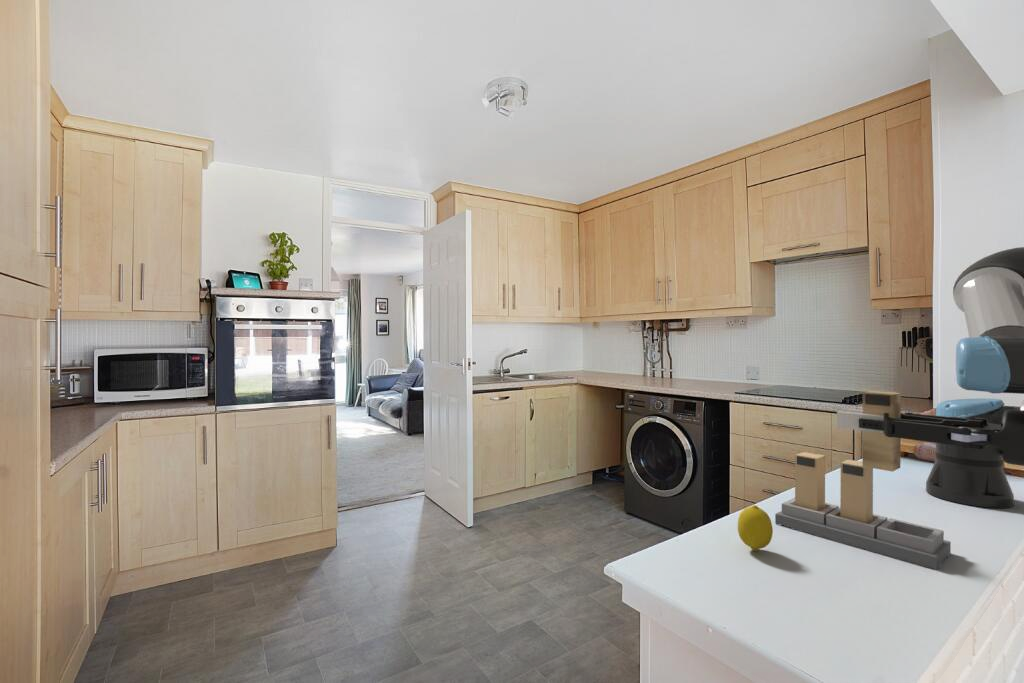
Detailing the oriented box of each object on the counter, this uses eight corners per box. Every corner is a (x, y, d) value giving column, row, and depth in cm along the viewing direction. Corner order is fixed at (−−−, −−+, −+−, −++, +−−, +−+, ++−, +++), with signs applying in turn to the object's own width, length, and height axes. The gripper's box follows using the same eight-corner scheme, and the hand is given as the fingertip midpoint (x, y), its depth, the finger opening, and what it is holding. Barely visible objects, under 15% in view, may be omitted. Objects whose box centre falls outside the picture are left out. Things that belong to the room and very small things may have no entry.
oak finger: (870, 462, 82) (870, 391, 82) (900, 467, 79) (900, 393, 79) (862, 466, 79) (862, 392, 79) (892, 471, 76) (892, 394, 76)
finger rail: (796, 512, 105) (796, 447, 105) (950, 553, 85) (950, 472, 85) (775, 523, 99) (775, 454, 99) (936, 569, 79) (936, 483, 79)
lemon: (769, 546, 88) (769, 502, 88) (775, 559, 83) (775, 512, 83) (735, 542, 90) (736, 499, 90) (739, 555, 84) (739, 508, 84)
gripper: (1037, 480, 60) (823, 446, 78) (1052, 458, 70) (860, 434, 89) (1037, 418, 60) (823, 399, 78) (1052, 406, 70) (860, 392, 89)
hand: (843, 418), depth 83 cm, fingers closed on oak finger, 4 cm apart
